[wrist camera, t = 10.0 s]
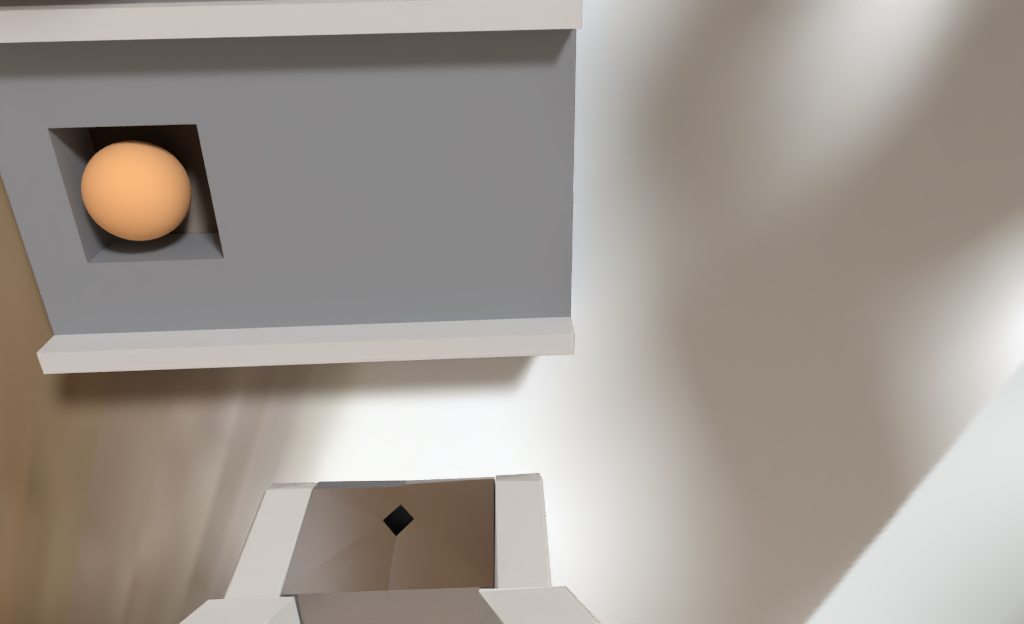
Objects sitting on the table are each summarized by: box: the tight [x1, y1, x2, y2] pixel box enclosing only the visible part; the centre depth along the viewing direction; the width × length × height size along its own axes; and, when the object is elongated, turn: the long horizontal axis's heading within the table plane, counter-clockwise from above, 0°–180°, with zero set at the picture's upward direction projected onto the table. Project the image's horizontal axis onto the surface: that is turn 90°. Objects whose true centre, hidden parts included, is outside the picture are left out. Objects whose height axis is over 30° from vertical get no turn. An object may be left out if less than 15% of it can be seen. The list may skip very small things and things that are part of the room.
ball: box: [81, 140, 192, 241], centre depth 31 cm, size 4×4×4 cm
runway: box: [0, 0, 582, 374], centre depth 31 cm, size 22×14×4 cm, turn 91°
